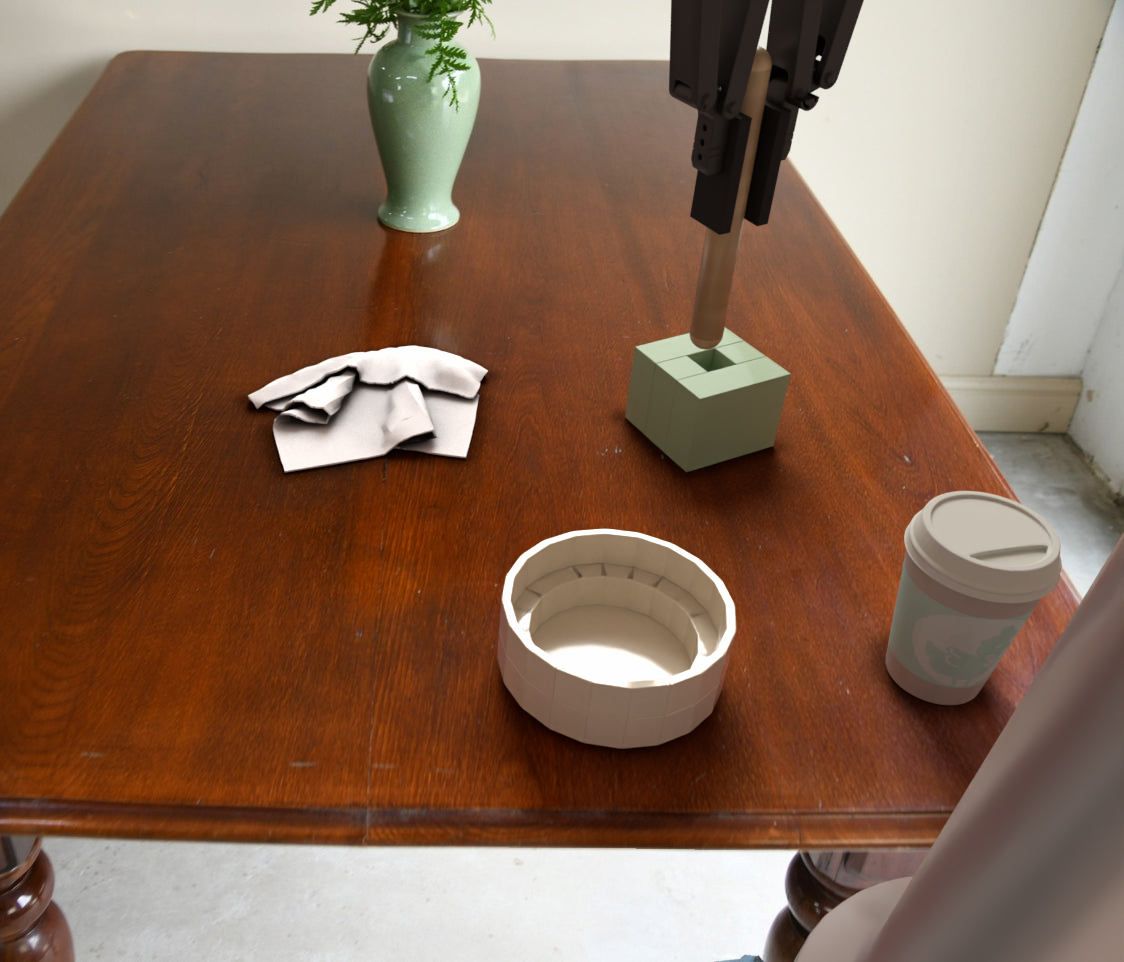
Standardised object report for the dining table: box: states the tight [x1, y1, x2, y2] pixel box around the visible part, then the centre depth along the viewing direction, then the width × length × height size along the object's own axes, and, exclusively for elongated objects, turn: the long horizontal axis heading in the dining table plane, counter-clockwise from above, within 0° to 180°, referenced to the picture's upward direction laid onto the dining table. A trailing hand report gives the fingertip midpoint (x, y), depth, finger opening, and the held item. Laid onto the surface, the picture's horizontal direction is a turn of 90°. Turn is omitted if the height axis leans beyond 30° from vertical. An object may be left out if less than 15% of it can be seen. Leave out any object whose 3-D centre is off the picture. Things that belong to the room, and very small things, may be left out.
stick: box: [689, 45, 772, 349], centre depth 64 cm, size 2×2×18 cm
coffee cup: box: [884, 490, 1063, 706], centre depth 69 cm, size 8×8×12 cm
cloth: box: [247, 345, 489, 474], centre depth 97 cm, size 20×22×2 cm
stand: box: [624, 326, 792, 473], centre depth 93 cm, size 9×9×7 cm
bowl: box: [496, 528, 738, 750], centre depth 71 cm, size 14×14×6 cm
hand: (728, 219), depth 64 cm, fingers closed on stick, 2 cm apart
